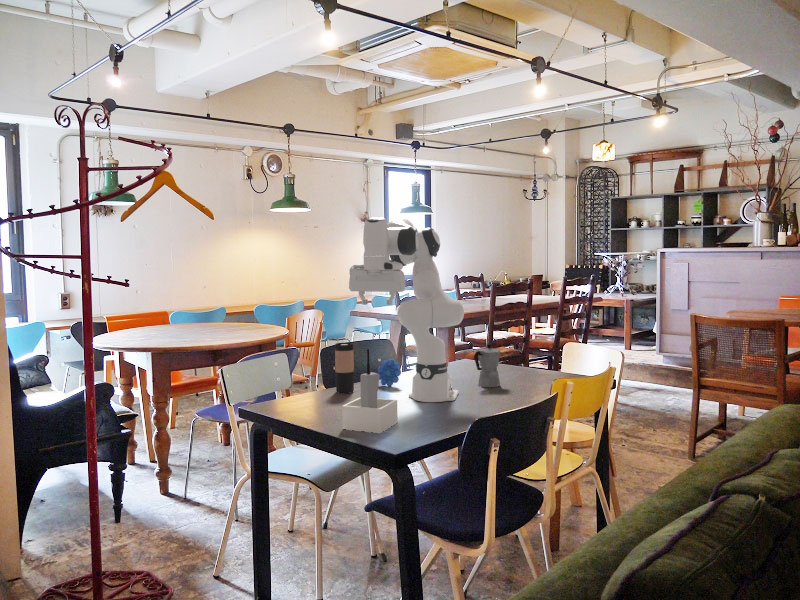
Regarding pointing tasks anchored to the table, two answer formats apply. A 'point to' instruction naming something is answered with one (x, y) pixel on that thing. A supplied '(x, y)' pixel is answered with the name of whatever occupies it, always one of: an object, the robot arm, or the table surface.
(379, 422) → the bin
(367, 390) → the vintage mobile phone
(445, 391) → the robot arm
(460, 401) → the table surface
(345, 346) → the travel mug
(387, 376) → the grapes
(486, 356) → the coffeepot
